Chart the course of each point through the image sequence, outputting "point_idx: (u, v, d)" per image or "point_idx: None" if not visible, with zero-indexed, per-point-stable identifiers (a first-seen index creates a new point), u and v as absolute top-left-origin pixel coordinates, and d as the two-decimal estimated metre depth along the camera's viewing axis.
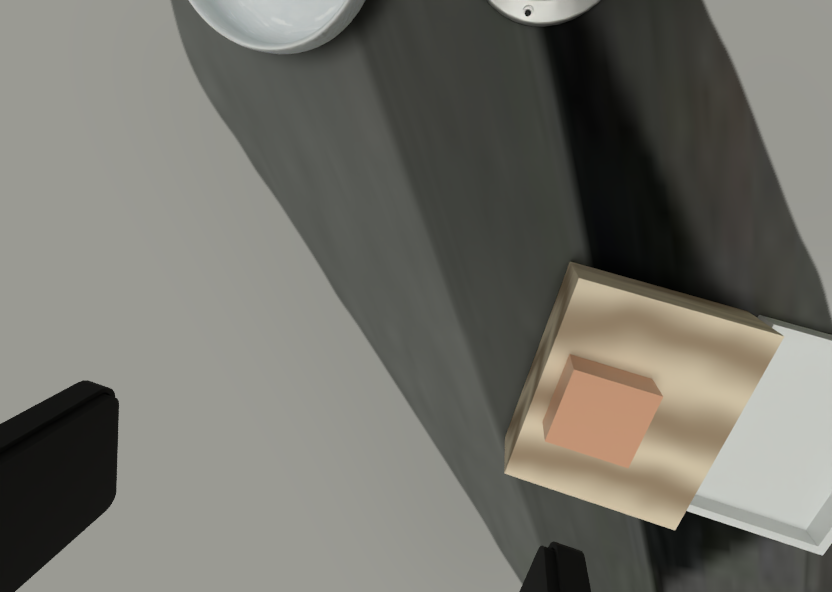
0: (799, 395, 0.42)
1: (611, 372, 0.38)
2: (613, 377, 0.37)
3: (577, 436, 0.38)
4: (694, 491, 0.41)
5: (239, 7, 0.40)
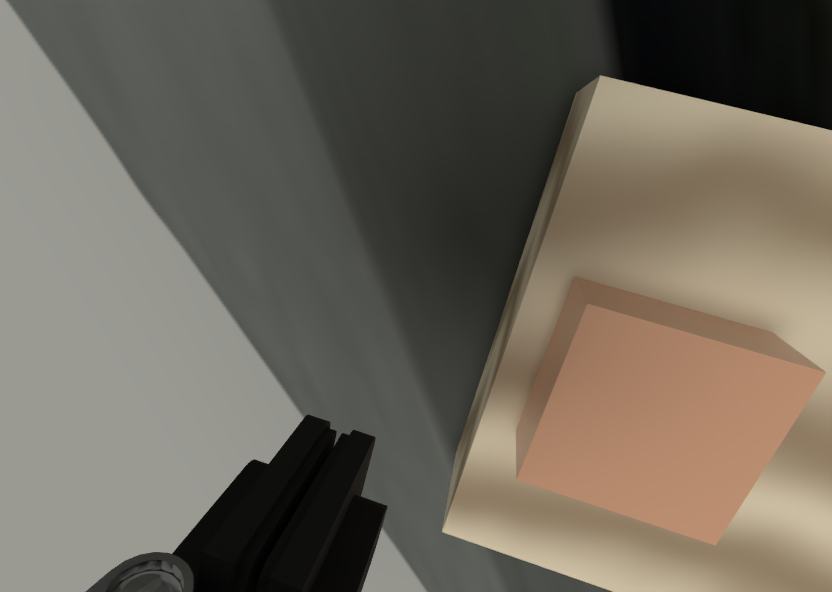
0: None
1: (678, 315, 0.15)
2: (687, 325, 0.15)
3: (593, 469, 0.16)
4: None
5: None
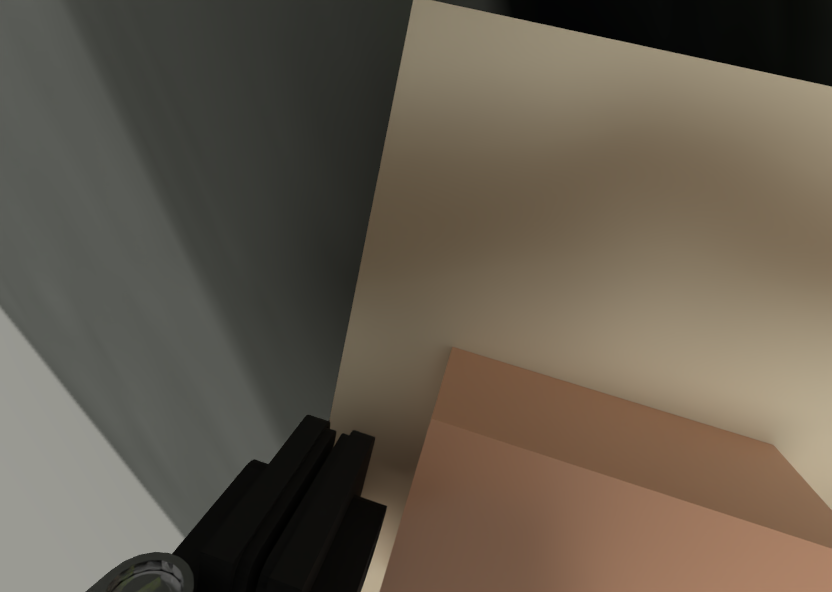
0: None
1: (610, 424, 0.09)
2: (620, 454, 0.08)
3: None
4: None
5: None
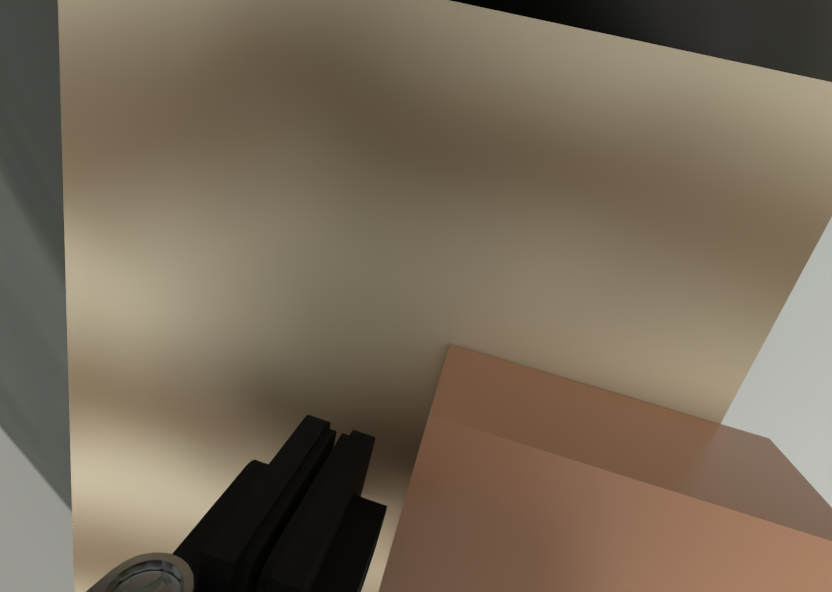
0: None
1: (607, 419, 0.09)
2: (617, 448, 0.08)
3: None
4: None
5: None
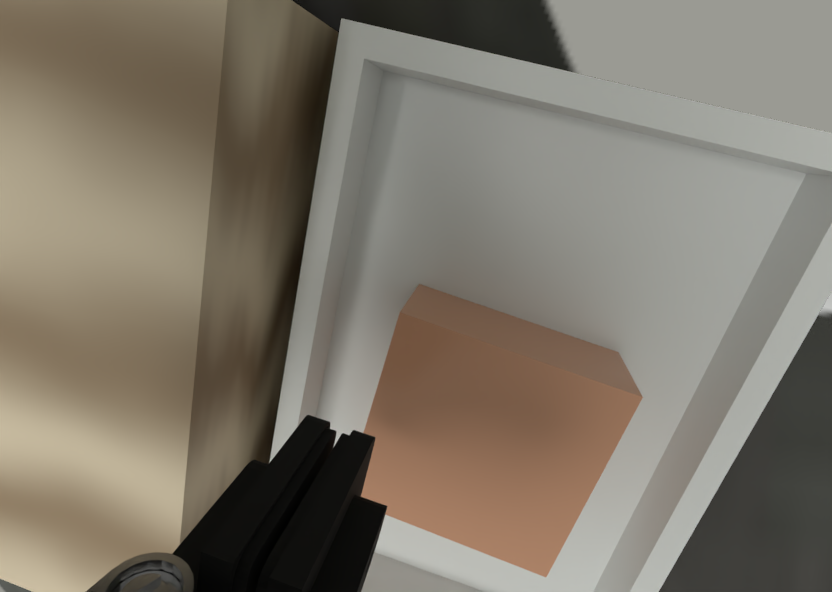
0: (503, 277, 0.15)
1: (523, 338, 0.14)
2: (523, 327, 0.15)
3: None
4: (173, 546, 0.14)
5: None
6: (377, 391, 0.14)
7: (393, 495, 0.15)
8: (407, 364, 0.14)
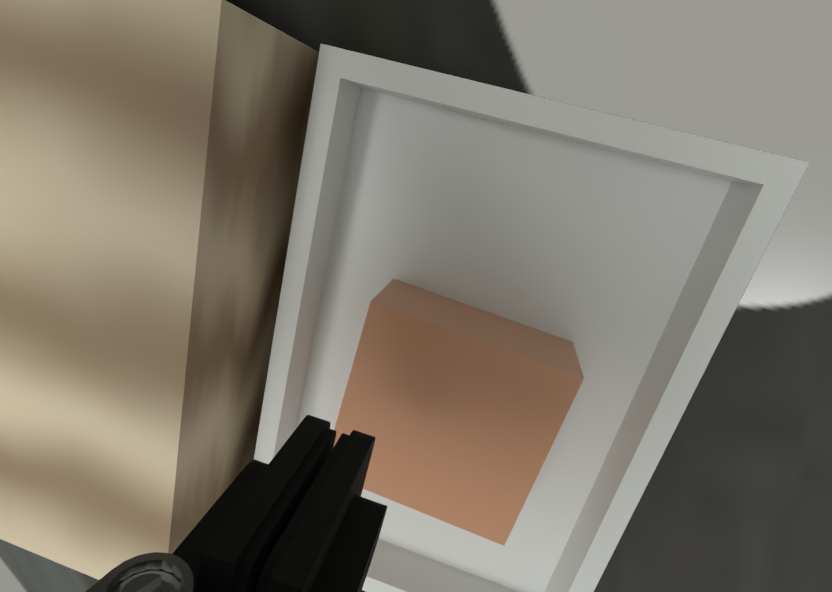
0: (468, 272, 0.17)
1: (483, 326, 0.16)
2: (485, 317, 0.17)
3: None
4: (167, 510, 0.16)
5: None
6: (351, 372, 0.16)
7: None
8: (378, 348, 0.15)
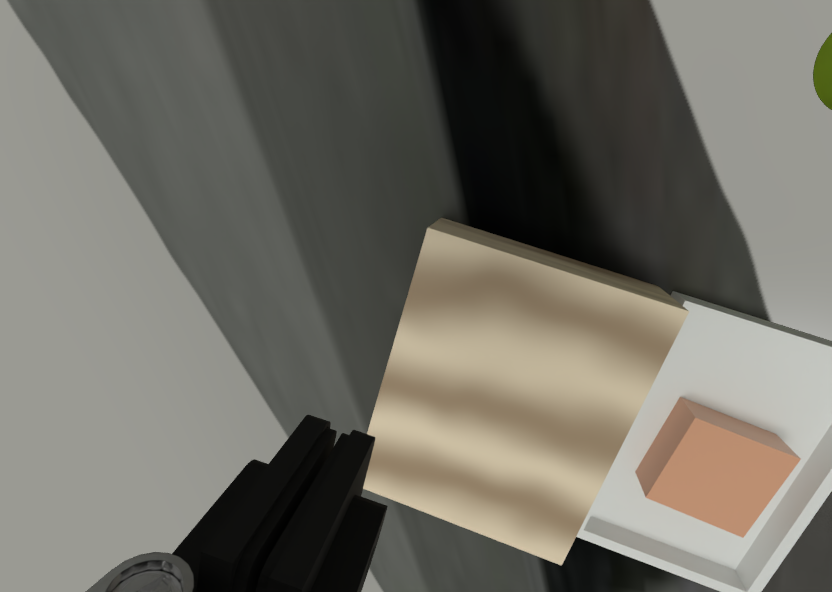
0: (723, 396, 0.33)
1: (741, 428, 0.32)
2: (735, 421, 0.33)
3: None
4: (583, 515, 0.32)
5: None
6: (676, 449, 0.32)
7: (672, 497, 0.33)
8: (694, 439, 0.31)
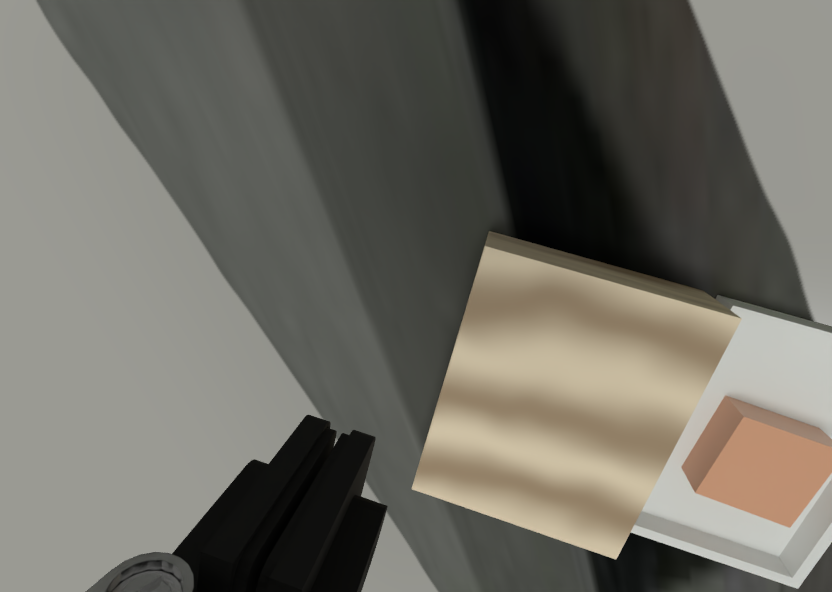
0: (768, 394, 0.35)
1: (787, 424, 0.33)
2: (780, 417, 0.34)
3: None
4: (637, 512, 0.33)
5: None
6: (725, 447, 0.33)
7: (721, 491, 0.34)
8: (742, 437, 0.33)
